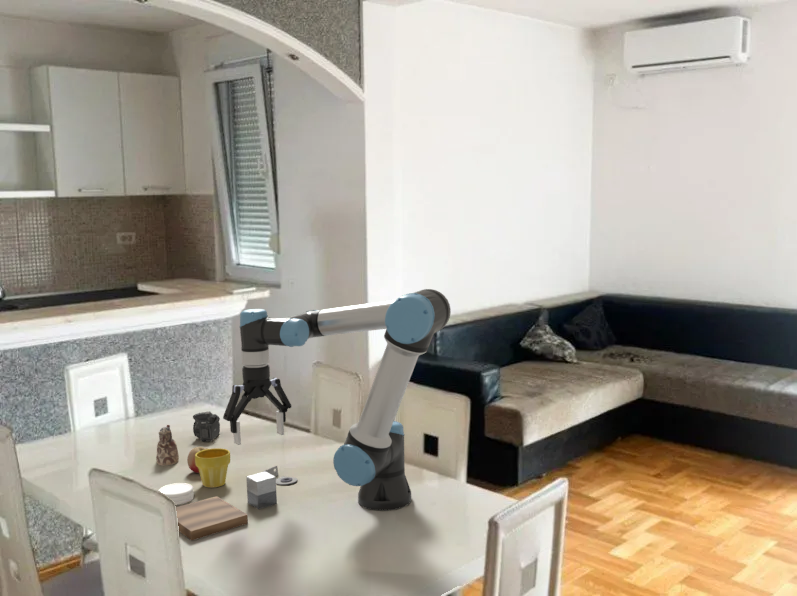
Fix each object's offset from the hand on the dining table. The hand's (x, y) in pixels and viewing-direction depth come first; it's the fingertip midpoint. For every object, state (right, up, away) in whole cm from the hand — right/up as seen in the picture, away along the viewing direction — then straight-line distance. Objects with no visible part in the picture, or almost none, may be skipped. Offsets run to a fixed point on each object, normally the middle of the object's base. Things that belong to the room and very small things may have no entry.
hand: (259, 438), depth 227 cm
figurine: (-37, -15, +40) cm, 57 cm away
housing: (+1, -19, +2) cm, 19 cm away
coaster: (-25, -19, +7) cm, 32 cm away
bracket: (+3, -17, +21) cm, 27 cm away
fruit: (-24, -16, +30) cm, 41 cm away
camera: (-30, -11, +66) cm, 74 cm away
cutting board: (-13, -20, -10) cm, 26 cm away
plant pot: (-17, -17, +18) cm, 30 cm away
